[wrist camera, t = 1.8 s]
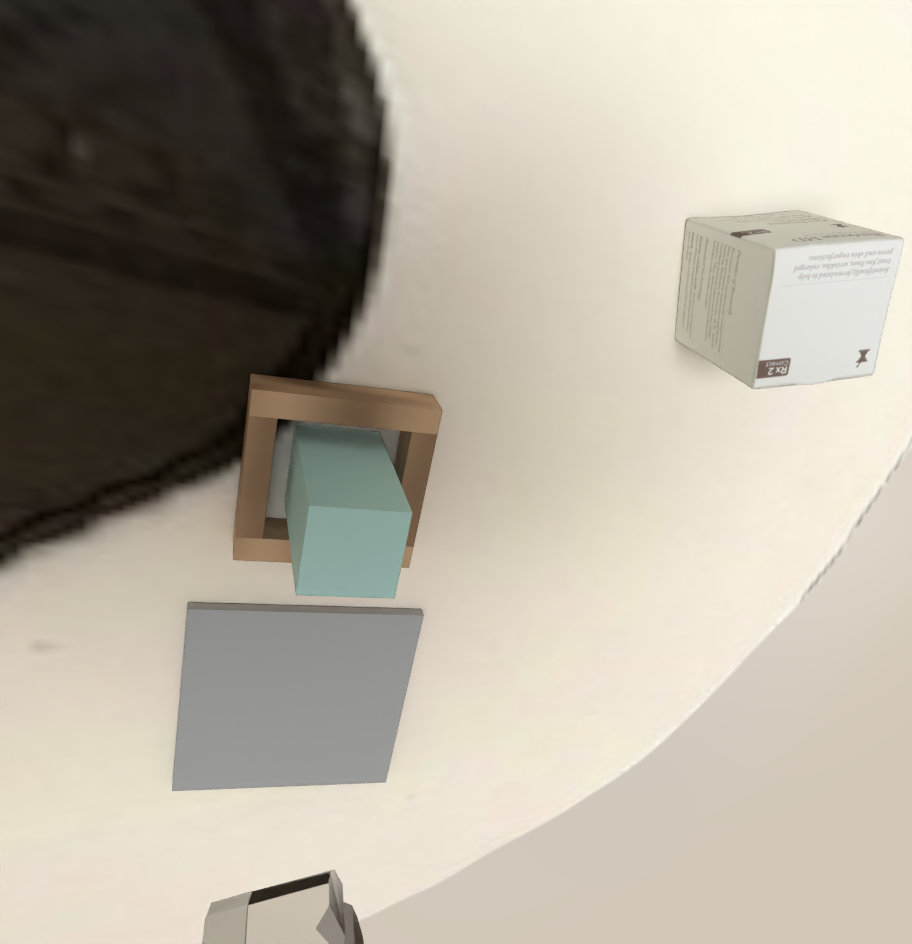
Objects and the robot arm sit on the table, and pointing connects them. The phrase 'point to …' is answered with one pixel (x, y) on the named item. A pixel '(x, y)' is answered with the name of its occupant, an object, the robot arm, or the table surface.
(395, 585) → the teal block
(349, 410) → the pocket
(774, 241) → the skincare box
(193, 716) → the mat
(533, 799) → the table surface
